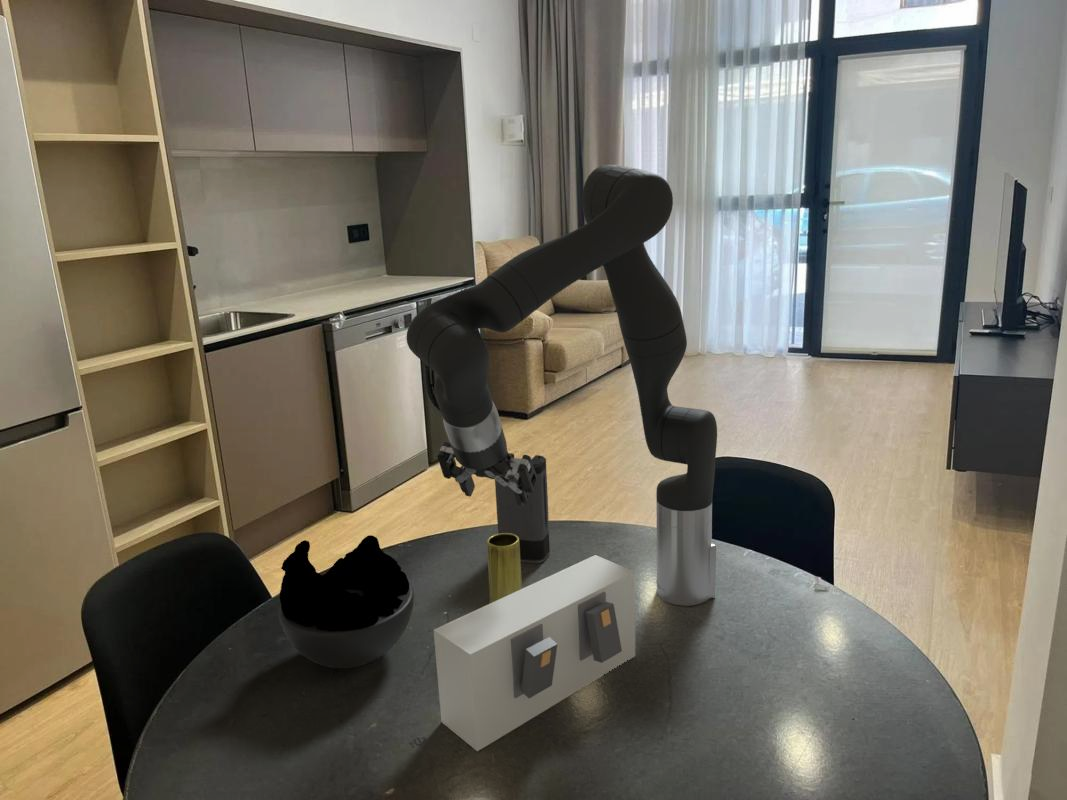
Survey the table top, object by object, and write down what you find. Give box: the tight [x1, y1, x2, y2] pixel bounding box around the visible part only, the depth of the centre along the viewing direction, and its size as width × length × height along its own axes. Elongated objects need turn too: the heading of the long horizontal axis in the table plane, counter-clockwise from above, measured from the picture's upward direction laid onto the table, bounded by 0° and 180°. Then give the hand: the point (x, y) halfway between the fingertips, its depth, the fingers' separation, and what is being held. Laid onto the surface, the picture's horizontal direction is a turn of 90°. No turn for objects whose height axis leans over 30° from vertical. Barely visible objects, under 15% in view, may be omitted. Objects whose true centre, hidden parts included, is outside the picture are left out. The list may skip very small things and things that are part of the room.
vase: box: [486, 533, 523, 604], centre depth 130 cm, size 6×6×14 cm
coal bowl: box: [278, 534, 415, 669], centre depth 120 cm, size 20×20×19 cm
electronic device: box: [494, 452, 551, 564], centre depth 151 cm, size 9×6×20 cm, turn 71°
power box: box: [433, 554, 636, 752], centre depth 111 cm, size 8×30×14 cm, turn 131°
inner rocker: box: [585, 602, 622, 663], centre depth 109 cm, size 2×4×7 cm, turn 131°
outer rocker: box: [521, 637, 557, 698], centre depth 102 cm, size 2×4×7 cm, turn 131°
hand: (496, 496), depth 120 cm, fingers open, 8 cm apart
